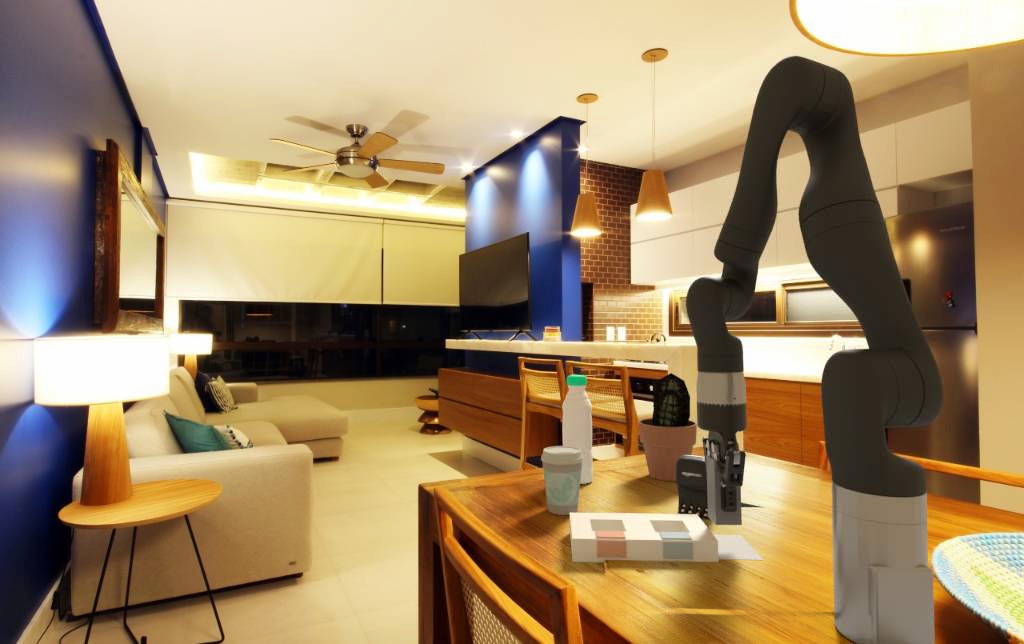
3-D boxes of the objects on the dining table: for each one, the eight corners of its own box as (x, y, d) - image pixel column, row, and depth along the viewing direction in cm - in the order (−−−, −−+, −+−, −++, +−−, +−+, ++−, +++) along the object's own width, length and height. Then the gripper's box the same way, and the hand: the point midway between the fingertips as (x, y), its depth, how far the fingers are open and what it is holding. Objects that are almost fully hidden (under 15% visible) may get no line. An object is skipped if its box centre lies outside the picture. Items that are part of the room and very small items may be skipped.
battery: (673, 516, 103) (672, 456, 104) (680, 511, 106) (679, 452, 107) (711, 524, 99) (710, 461, 99) (717, 518, 102) (716, 457, 103)
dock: (719, 565, 82) (718, 540, 82) (572, 562, 83) (572, 537, 84) (697, 535, 94) (696, 513, 94) (569, 532, 96) (569, 511, 96)
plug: (741, 525, 85) (739, 456, 86) (715, 524, 85) (714, 456, 86) (732, 516, 89) (730, 451, 90) (708, 516, 89) (706, 451, 90)
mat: (763, 563, 83) (763, 559, 83) (709, 562, 83) (709, 558, 83) (740, 538, 93) (740, 535, 93) (692, 537, 93) (692, 534, 93)
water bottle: (557, 479, 130) (556, 375, 130) (582, 475, 133) (581, 373, 133) (572, 486, 124) (571, 377, 124) (598, 483, 127) (597, 375, 127)
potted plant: (628, 471, 136) (627, 372, 137) (675, 467, 140) (674, 370, 141) (659, 486, 123) (657, 376, 124) (709, 481, 127) (708, 374, 128)
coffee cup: (534, 513, 106) (533, 452, 106) (551, 501, 113) (551, 443, 114) (575, 520, 102) (574, 456, 102) (590, 507, 109) (589, 447, 110)
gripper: (762, 404, 81) (766, 521, 80) (729, 395, 95) (732, 494, 94) (711, 404, 81) (714, 521, 80) (685, 395, 95) (688, 494, 95)
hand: (724, 506), depth 87 cm, fingers closed on plug, 4 cm apart
